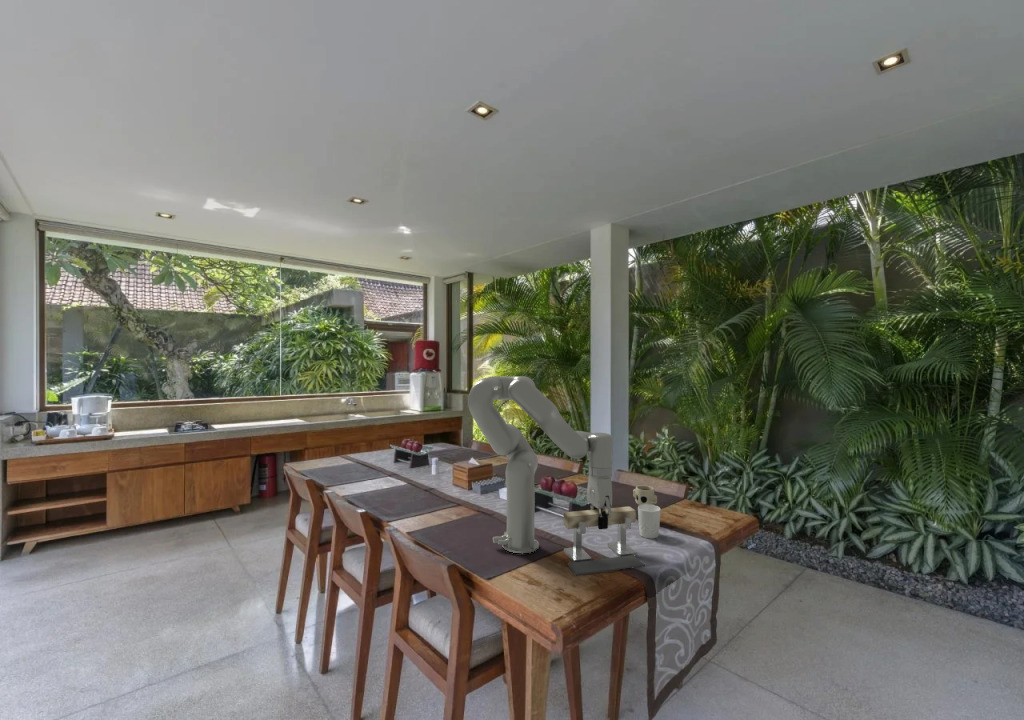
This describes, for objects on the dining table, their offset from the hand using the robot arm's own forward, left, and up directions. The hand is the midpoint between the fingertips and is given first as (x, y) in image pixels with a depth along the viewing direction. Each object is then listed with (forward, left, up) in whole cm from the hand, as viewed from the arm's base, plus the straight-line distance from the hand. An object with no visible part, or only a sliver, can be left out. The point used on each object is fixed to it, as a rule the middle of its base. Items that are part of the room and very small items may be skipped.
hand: (599, 525), depth 154 cm
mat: (-2, -9, -9) cm, 13 cm away
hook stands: (0, 0, -9) cm, 9 cm away
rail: (0, 0, +1) cm, 1 cm away
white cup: (+24, +9, -10) cm, 28 cm away
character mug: (+30, +22, -10) cm, 39 cm away
